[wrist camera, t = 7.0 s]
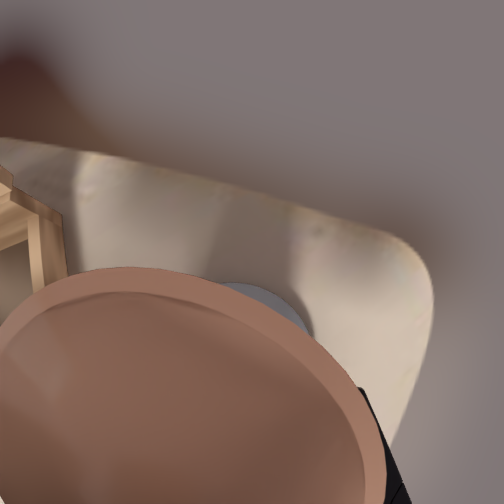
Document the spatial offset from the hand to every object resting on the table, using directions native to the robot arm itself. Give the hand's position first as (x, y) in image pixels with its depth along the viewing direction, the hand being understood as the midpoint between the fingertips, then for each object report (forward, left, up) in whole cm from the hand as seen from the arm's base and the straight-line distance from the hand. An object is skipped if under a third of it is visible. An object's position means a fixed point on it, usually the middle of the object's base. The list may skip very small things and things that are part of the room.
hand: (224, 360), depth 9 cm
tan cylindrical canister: (-1, +1, -8) cm, 8 cm away
